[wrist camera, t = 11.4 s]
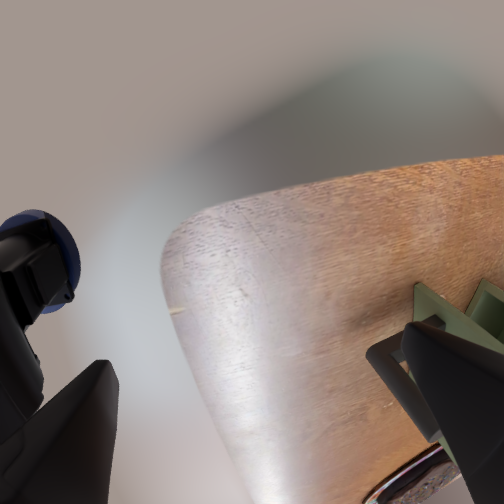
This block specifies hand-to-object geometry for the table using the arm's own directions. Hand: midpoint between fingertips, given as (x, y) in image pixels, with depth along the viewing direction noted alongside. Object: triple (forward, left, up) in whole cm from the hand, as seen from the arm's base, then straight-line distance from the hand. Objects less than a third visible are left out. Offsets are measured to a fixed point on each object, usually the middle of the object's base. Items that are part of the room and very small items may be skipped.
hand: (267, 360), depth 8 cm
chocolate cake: (+30, -58, -12) cm, 67 cm away
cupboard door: (+13, -16, -12) cm, 23 cm away
